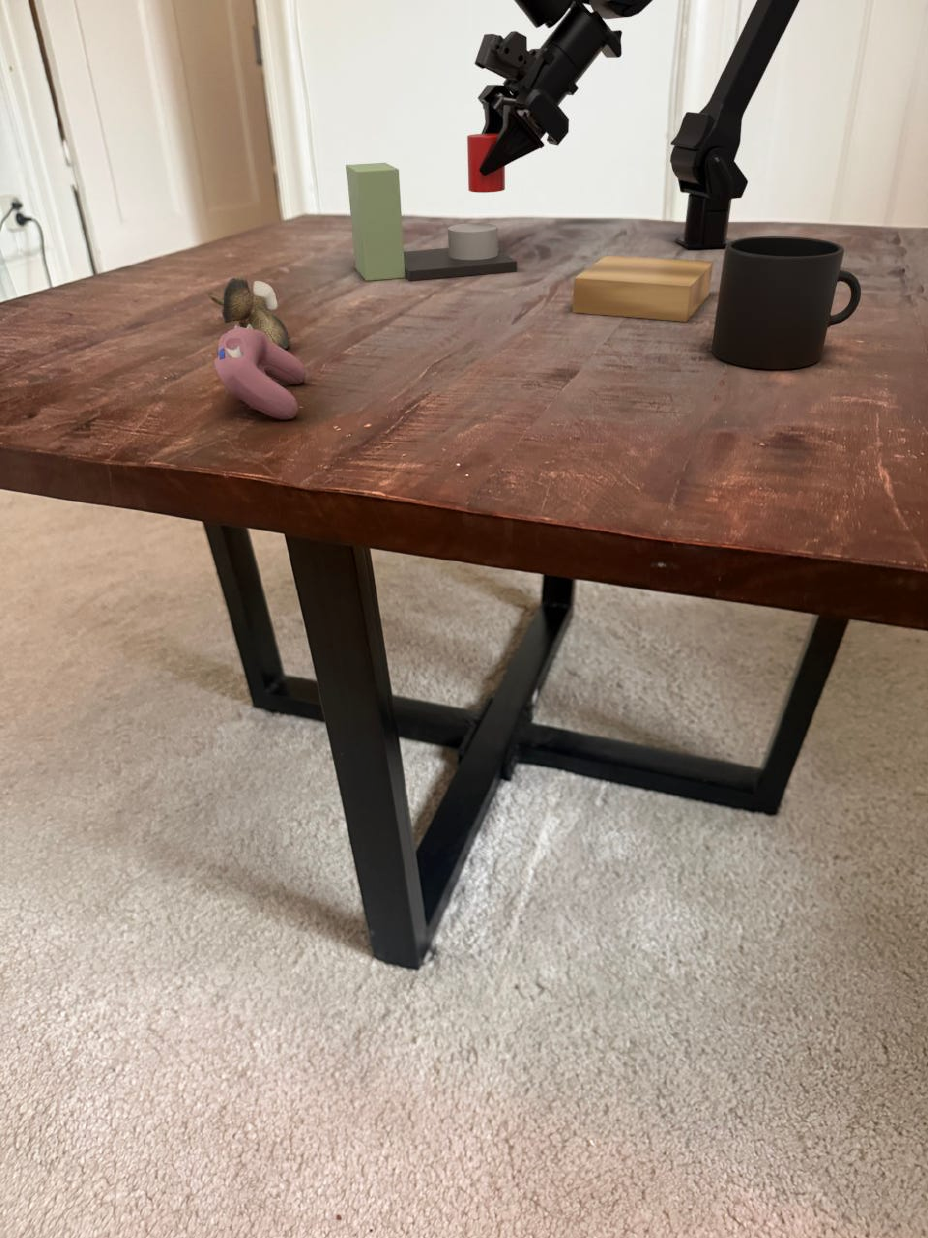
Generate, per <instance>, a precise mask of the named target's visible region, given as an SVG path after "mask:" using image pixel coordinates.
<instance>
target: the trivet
mask: <svg viewBox="0 0 928 1238" xmlns="http://www.w3.org/2000/svg"><path fill="white" fill-rule="evenodd" d="M713 267H714V261H712V260H711V261H709V260H693V259H692V260H691V259H677V258H676V259H674V258H673V259H672V258H659V257H658V258H657V257H640V256H623V255H608V254H607V255H605V256H604V257H602V258H601V259H599V260H598V261H597V262H595V263H594V264H592V265H591V266H589V267H588V268H586V269H585V270H584V271H582V272H581V273H579V274H578V275H577V276H575V277H574V281H573V300H572V301H573V303H572V313H573V314H583V315H584V314H585V315H597V316H609V317H620V318H631V319H646V320H656V321H657V320H658V321H667V322H668V321H670V322H679V323H680V322H681V323H683V322H684V323H688V321H689V320H690V319H691V317H692V316H693V315H694V314H695V312H696V311H697V310H698V309H699V308H700V306H701V305H702V304H703V303H704V301H705V300H706V299H707V298H708V297H709V295H710V290H711V282H712V273H713Z"/></svg>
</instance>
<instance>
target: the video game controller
mask: <svg viewBox="0 0 928 1238" xmlns="http://www.w3.org/2000/svg"><path fill="white" fill-rule="evenodd" d="M217 351H218V353H217V355H218V356H217V357H216V358H215V359H214V368H215V371H216V374H217V375H218V378H219V380H220V381H221V383H222V384H223V386H224V387H225V388H226V390H227V391H228V393H230V394H231V395H232V396H233V397H234V398H235V399H237V400H239V401H242V402H244V403H245V404H247V406H249V408H250V409H252V410H253V411H258V412H260V413H262V414H264V415H266V416H269V417H272V418H275V419H278V420H291V419H294V418H295V416H296V415H297V414H298V411H299V405H298V402H297V401H298V400H297V399H296V397H294V396H293V395H292V393H291V392H290V391H289V390H288V389H287V388H285V387H284V386H282V385H281V384H279V383H278V382H280V383H285V384H290V385H299V384H301V383H302V382H304V380H305V379H306V375H307V373H306V368H305V367H304V364H302V362H301V361H300V360H299V358H297V357H296V356H295V355H293V354H292V353H290V352H289V351H287V350H286V349H285V348H284V349H282V348H281V347H279V346H277V345H276V344H275V343H273V342H272V341H271V340H269V339H268V338H267V337H266V336H265V335H264V334H263V333H262V332H260V331H259V330H254V329H253V327H252V325H250V324H249V325H248V326H247V328H244V327H237V328H234V327H233V328H232V329H230V330H229V331H226V332H225V333H223V334H222V335H221V336H220V338H219V340H218V344H217ZM272 379H273V380H272ZM274 380H275V381H274ZM276 381H278V382H276Z"/></svg>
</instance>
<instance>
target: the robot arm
mask: <svg viewBox="0 0 928 1238" xmlns="http://www.w3.org/2000/svg"><path fill="white" fill-rule="evenodd" d="M513 1H514V2H515V3H516V5H517V6H518V7H519V9H520V10H521V11H522V12H523V14H524V15H525V16H526V17H527V19H528V20H529V22H530V23H531V25H533V26H534V28H535V29H539V28H541V27H542V26H543V25H544V26H546V28H547V29H551V28H552V27H554V26H555V25H556V27H555V28H554V29H553V31H551V33H550V35H549V36H548V37H547V39H545V41H544V43H543V44H542V45H541V46H540V47H539V48H531V49H529V50H528V44H527V43H528V41H527V38H528V37H527V36H526V35H524V34H522V33H521V32H519V31H517V30H514V31H513V30H512V31H510V32H509V33H508V34H507V35H506V36H505V37H504V38H503V36H502V35H497V34H494V33H486V34H485V33H484V35H483V38H482V41H481V43H480V46H479V49H478V51H477V54H476V58H475V60H474V65H475V66H476V67H478V68H480V69H482V70H484V69H486V70H488V71H489V72H491V73H493V74H494V75H497V76H499V77H501V78H503V79H505V80H504V81H503V82H502V84H487V85H486V86H485V87H484V88H483V90H482V91H481V92H480V93H479V95H478V96H477V99H478V101H479V102H480V103H481V105H482V109H483V110H484V121H485V123H484V126H483V128H482V131H481V133H480V134H499V135H498V136H497V138H496V140H495V141H494V143H493V145H492V146H491V148H490V150H489V151H488V153H487V155H486V157H485V158H484V160H483V162H482V164H481V166H480V168H479V172H480V173H481V174H482V175H483V176H487V175H489V174H491V173H493V172H495V171H496V170H498V169H500V168H502V167H504V166H505V167H506V166H507V165H509V164H511V163H513V162H515V161H517V160H518V159H519V160H520V159H522V158H523V157H525V156H526V155H527V156H528V155H529V154H531V153H533V152H534V151H537V150H539V149H543V148H544V147H545V143H544V141H542V139H543V138H544V136H545V135H546V134H547V135H548V136H547V138H546V141H547V142H548V143H549V144H550V145H553V146H556V147H557V146H559V145H560V144H561V142H562V141H563V140H564V139H565V138H566V137H567V135H569V133H570V132H569V131H570V118H569V117H568V116H567V115H566V113H565V112H564V111H563V110H562V108H561V107H560V104H561V103H562V102H563V100H564V99H565V98H566V97H567V96H574V95H575V94H576V92H578V90H579V89H580V88H579V86H578V85H577V84H578V82H579V80H580V79H581V78H582V77H583V75H584V74H585V72H587V71H588V69H589V68H590V66H591V65H592V64H593V63H594V62H595V60H596V59H597V57H598V56H599V55H600V54H601V53H602V54H603V56H604V57H605V58H607V59H618V58H621V56H622V53H623V51H622V49H623V47H622V35H623V31H622V30H621V29H617V30H616V29H615V30H612V29H611V28H610V26H609V25H608V24H607V22H606V21H605V20H613V19H615V20H616V19H624V18H632V17H634V16H637V15H639V14H640V13H641V12H642V11H643V10H644V9H645V8H647V7H648V6H649V5H650V4H651V3H652V2H653V1H654V0H513ZM800 1H801V0H756V1H755V3H754V5H753V8H752V10H751V12H750V14H749V16H748V18H747V20H746V23H745V24H744V26H743V28H742V31H741V33H740V35H739V37H738V39H737V40H736V43H735V46H734V47H733V49H732V52H731V54H730V56H729V58H728V61H727V62H726V64H725V66H724V69H723V71H722V73H721V75H720V76H719V77H720V78H719V79H718V82H717V84H716V86H715V88H714V90H713V92H712V94H711V96H710V98H709V100H708V102H707V103H706V105H704V107H703V108H702V109H701V110H700V111H699V112H692V111H687V112H685V114H684V116H683V118H682V120H681V124H680V127H679V129H678V132H677V133H676V135H675V137H674V138H673V139H672V140H671V141H670V146H673V147H672V150H671V153H670V157H669V162H670V165H671V170H672V172H673V174H674V176H675V177H676V178H677V181H678V187H679V192H680V193H683V194H688V197H687V207H686V215H685V222H684V223H685V224H684V232H683V233H684V234H683V236H675V240H674V241H675V242H677V243H679V244H680V245H682V246H684V247H685V248H687V249H690V250H691V249H693V250H694V249H709V248H710V249H711V248H725V247H726V245H727V243H729V242H731V241H732V240H730V239H728V238H727V234H728V227H729V220H730V213H731V207H732V206H731V205H732V200H735V199H742V198H743V196H744V194H745V191H746V188H747V186H748V184H749V180H748V179H747V177H746V176H745V174H744V173H743V171H742V170H741V169H740V167H739V165H738V164H737V162H736V161H735V159H736V157H737V154H738V151H739V148H740V146H741V139H742V138H741V137H742V125H743V119H744V115H745V113H746V110H747V109H748V106H749V105H750V103H751V100H752V99H753V96H754V94H755V92H756V91H757V88H758V86H759V84H760V83H761V80H762V78H763V76H764V74H765V72H766V71H767V68H768V66H769V64H770V62H771V60H772V59H773V56H774V54H775V52H776V50H777V48H778V45H779V44H780V42H781V40H782V37H783V36H784V33H785V31H786V30H787V27H788V25H789V23H790V21H791V20H792V17H793V15H794V13H795V11H796V9H797V7H798V5H799V3H800ZM585 5H588V6H590V8H591V9H592V11H591V10H589V9H588V8H587V7H586V6H585Z"/></svg>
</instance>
